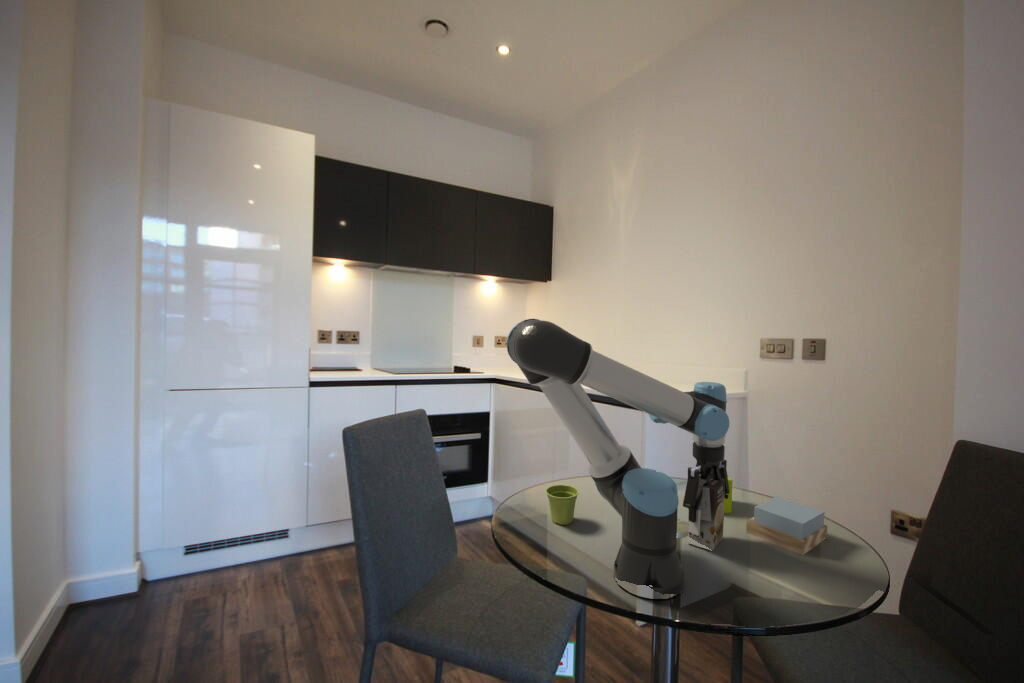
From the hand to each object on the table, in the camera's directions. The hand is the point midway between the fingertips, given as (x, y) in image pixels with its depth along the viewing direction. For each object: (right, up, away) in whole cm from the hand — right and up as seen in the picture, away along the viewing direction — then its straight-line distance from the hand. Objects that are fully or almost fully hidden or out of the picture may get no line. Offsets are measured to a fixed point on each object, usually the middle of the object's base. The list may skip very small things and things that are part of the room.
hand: (706, 527), depth 121 cm
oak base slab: (+23, -4, +3) cm, 23 cm away
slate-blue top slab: (+23, 0, +2) cm, 23 cm away
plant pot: (-36, -3, +12) cm, 38 cm away
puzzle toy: (+10, -2, +22) cm, 25 cm away
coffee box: (0, -4, 0) cm, 4 cm away
